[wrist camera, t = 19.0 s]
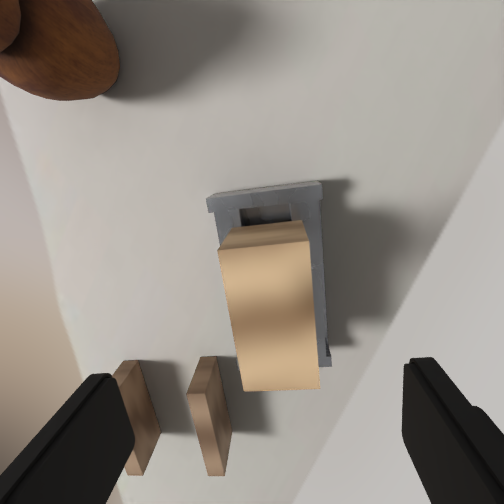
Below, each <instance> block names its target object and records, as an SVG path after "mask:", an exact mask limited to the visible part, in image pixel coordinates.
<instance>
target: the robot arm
mask: <svg viewBox="0 0 504 504" xmlns="http://www.w3.org/2000/svg"><path fill="white" fill-rule="evenodd" d="M402 437H403V440H404V443H405V446H406V448H407V450H408V453H409V455H410V457H411V459H412V462H413V464H414V466H415V468H416V471H417V473H418V475H419V477H420V479H421V481H422V484H423V486H424V488H425V490H426V492H427V495H428V497H429V499H430V502H431V504H504V434H503V433H502V432H501V431H500V429H499V428H498V427H497V426H496V425H495V424H494V422H493V421H492V420H491V419H490V417H489V416H488V415H487V414H486V413H485V412H484V411H483V410H482V409H481V408H479V407H477V406H472V405H471V404H470V403H469V401H468V400H467V399H466V398H465V396H464V395H463V394H462V393H461V392H460V390H459V389H458V388H457V386H456V385H455V384H454V383H453V381H452V380H451V379H450V378H449V376H448V375H447V374H446V373H445V371H444V370H443V369H442V368H441V366H440V365H439V364H438V363H437V361H436V360H435V359H434V358H432V357H425V358H411V359H410V362H409V364H405V365H404V377H403V407H402ZM134 445H135V435H134V432H133V429H132V426H131V423H130V420H129V417H128V414H127V411H126V408H125V405H124V401H123V398H122V395H121V392H120V389H119V386H118V383H117V381H116V379H115V378H113V377H112V375H111V374H110V373H101V374H91V375H90V376H89V377H87V379H86V380H85V381H84V382H83V383H82V384H81V385H80V386H79V388H78V389H77V390H76V391H75V392H74V393H73V394H72V395H71V397H70V398H69V399H68V400H67V401H66V402H65V404H63V406H62V407H61V408H60V409H59V410H58V411H57V412H56V413H55V415H54V416H53V417H52V418H51V419H50V420H49V421H48V422H47V424H46V425H45V426H44V427H43V428H42V429H41V430H40V432H39V433H38V434H37V435H36V436H35V437H34V438H33V439H32V440H31V442H30V443H29V444H28V445H27V446H26V447H25V448H24V450H23V451H22V452H21V453H20V454H19V455H18V456H17V457H16V458H15V460H14V461H13V462H12V463H11V464H10V465H9V466H8V468H7V469H6V470H5V471H4V472H3V473H2V474H1V475H0V504H106V502H107V500H108V498H109V496H110V494H111V492H112V490H113V488H114V486H115V484H116V482H117V480H118V478H119V476H120V474H121V472H122V470H123V468H124V466H125V464H126V462H127V460H128V459H129V457H130V455H131V453H132V451H133V448H134Z"/></svg>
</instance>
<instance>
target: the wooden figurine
mask: <svg viewBox="0 0 504 504" xmlns="http://www.w3.org/2000/svg"><path fill="white" fill-rule="evenodd" d="M119 69H120V62H119V53H118V49H117V46H116V43H115V40H114V37H113V35H112V33H111V31H110V30H109V28H108V26H107V25H106V23H105V21H104V19H103V17H102V16H101V14H100V12H99V11H98V9H97V8H96V6H95V5H94V3H93V2H92V0H0V77H2V78H3V79H5V80H6V81H8V82H9V83H11V84H13V85H14V86H17V87H19V88H21V89H23V90H25V91H27V92H29V93H31V94H34V95H37V96H40V97H43V98H46V99H52V100H58V101H71V100H82V99H90V98H95V97H96V96H98V95H100V94H102V93H104V92H106V91H107V90H108V89H109V88H110V87H111V86H112V85H113V84H114V83H115V81H116V80H117V77H118V73H119Z"/></svg>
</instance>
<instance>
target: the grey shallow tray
mask: <svg viewBox="0 0 504 504" xmlns="http://www.w3.org/2000/svg"><path fill="white" fill-rule="evenodd" d="M320 199H323V191H322V184H321V183H320V182H318V181H310V182H302V183H294V184H287V185H279V186H271V187H263V188H255V189H247V190H239V191H232V192H224V193H216V194H213V195H211V196H210V197H208V198H206V202H207V207H208V212H209V213H211V212H214V215H215V221H216V226H217V232H218V237H219V243H220V246H221V244H222V242H223V241H224V239H225V238H226V236H227V235H228V233H229V231H230V230H231V228H235V227H244V226H253V225H262V224H270V223H279V222H288V221H297V220H302V222H303V225H304V228H305V231H306V234H307V237H308V239H309V247H310V260H311V273H312V287H313V300H314V313H315V326H316V340H317V353H318V366H319V367H331V366H332V362H331V354H330V350H329V346H328V335H327V317H326V299H325V281H324V264H323V246H322V228H321V210H320ZM236 363H237V368H238V370H240V368H239V363H238V358H237V360H236Z"/></svg>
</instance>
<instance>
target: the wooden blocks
mask: <svg viewBox="0 0 504 504" xmlns="http://www.w3.org/2000/svg"><path fill="white" fill-rule="evenodd" d="M112 377H113V378H115V379H116V381H117V383H118V386H119V389H120V392H121V395H122V398H123V401H124V405H125V408H126V411H127V414H128V417H129V420H130V423H131V426H132V429H133V432H134V435H135V445H134V448H133V451H132V453H131V455H130V457H129V459H128V460H127V462H126V464H125V466H124V467H125V470H126V472H127V475H138V476H143V474H144V472H145V470H146V467H147V465H148V463H149V460H150V458H151V456H152V453H153V451H154V448H155V446H156V444H157V441H158V439H159V437H160V434H161V430H160V427H159V424H158V421H157V418H156V415H155V411H154V408H153V405H152V402H151V399H150V396H149V393H148V390H147V387H146V384H145V381H144V377H143V374H142V371H141V368H140V365H139V362H138V360H132V361H123V362H122V363H121V365H120V366H119V367H118V369H117V370H116V371H115V373H114V374H113V375H112ZM186 395H187V399H188V402H189V406H190V410H191V413H192V417H193V421H194V425H195V428H196V432H197V436H198V440H199V443H200V447H201V451H202V454H203V458H204V462H205V466H206V469H207V473H208V476H225V471H226V466H227V460H228V454H229V448H230V442H231V436H232V428H231V423H230V419H229V414H228V409H227V404H226V400H225V395H224V390H223V386H222V381H221V376H220V372H219V367H218V362H217V357H216V356H213V357H200V360H199V362H198V365H197V368H196V370H195V373H194V375H193V378H192V381H191V383H190V386H189V388H188V391H187V394H186Z"/></svg>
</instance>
